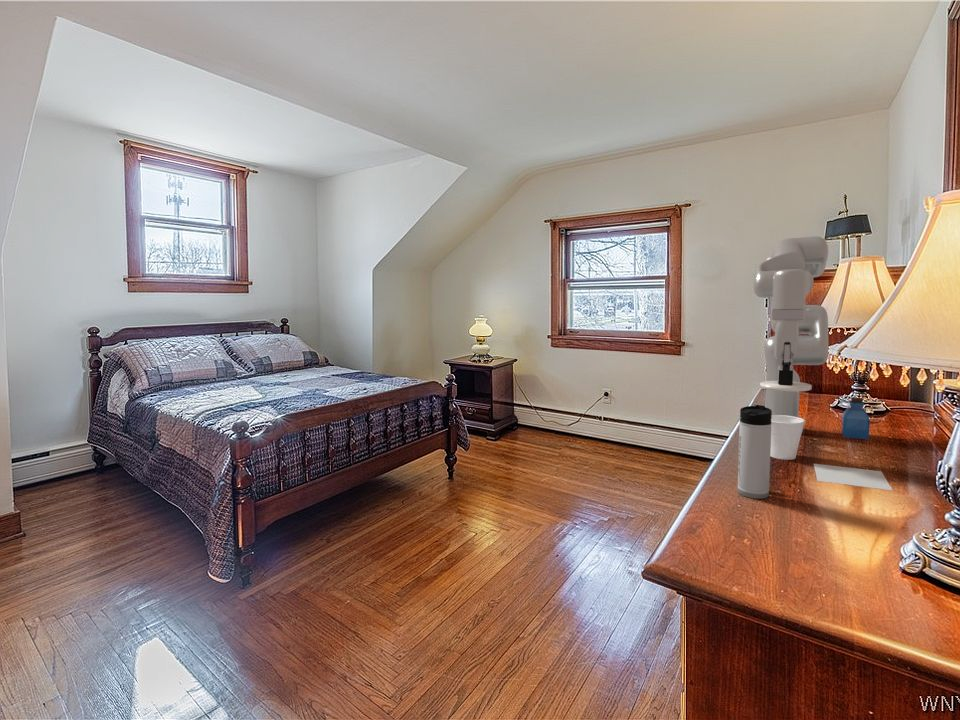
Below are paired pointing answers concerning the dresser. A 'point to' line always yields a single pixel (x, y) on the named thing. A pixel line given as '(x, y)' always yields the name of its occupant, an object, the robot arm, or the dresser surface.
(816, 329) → the robot arm
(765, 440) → the travel mug
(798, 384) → the lid
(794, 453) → the cup
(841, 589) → the dresser surface
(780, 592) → the dresser surface
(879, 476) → the mat
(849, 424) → the perfume bottle
